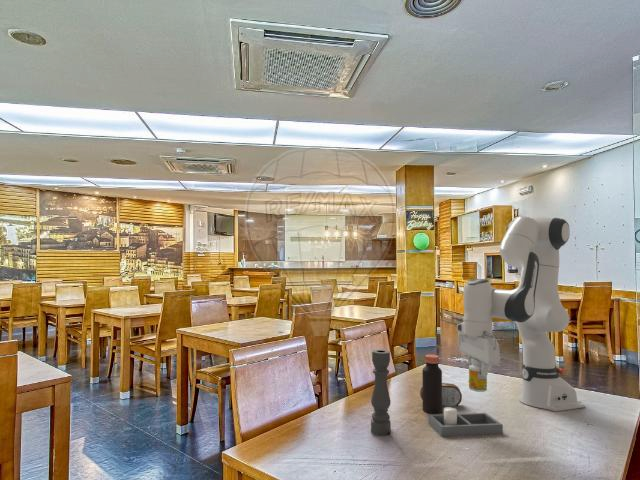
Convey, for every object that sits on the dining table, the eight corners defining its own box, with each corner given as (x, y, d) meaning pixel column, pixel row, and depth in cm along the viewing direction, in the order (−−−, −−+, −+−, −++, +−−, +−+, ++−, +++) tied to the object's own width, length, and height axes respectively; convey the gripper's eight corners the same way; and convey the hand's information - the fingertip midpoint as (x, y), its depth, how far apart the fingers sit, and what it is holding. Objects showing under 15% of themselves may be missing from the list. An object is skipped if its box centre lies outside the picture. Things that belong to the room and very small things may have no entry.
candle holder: (392, 429, 130) (392, 350, 131) (388, 437, 124) (389, 354, 125) (373, 426, 132) (373, 348, 133) (368, 434, 126) (369, 352, 127)
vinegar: (443, 411, 146) (443, 355, 147) (440, 417, 140) (440, 359, 141) (424, 408, 149) (424, 353, 150) (420, 414, 143) (420, 356, 144)
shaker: (453, 426, 131) (453, 407, 131) (459, 431, 127) (459, 411, 127) (441, 426, 130) (441, 407, 131) (447, 431, 126) (447, 412, 127)
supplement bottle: (466, 387, 133) (466, 357, 134) (481, 387, 134) (481, 357, 134) (473, 392, 128) (473, 361, 128) (489, 392, 128) (489, 361, 129)
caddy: (485, 423, 136) (485, 412, 136) (502, 436, 126) (502, 424, 126) (428, 425, 133) (428, 414, 133) (441, 438, 123) (441, 427, 123)
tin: (460, 405, 152) (460, 383, 153) (462, 408, 149) (462, 385, 150) (419, 404, 154) (419, 381, 154) (421, 407, 151) (421, 383, 151)
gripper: (505, 334, 122) (506, 381, 121) (471, 324, 142) (471, 364, 141) (485, 335, 121) (486, 382, 120) (454, 324, 141) (454, 364, 141)
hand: (478, 372), depth 131 cm, fingers closed on supplement bottle, 5 cm apart
